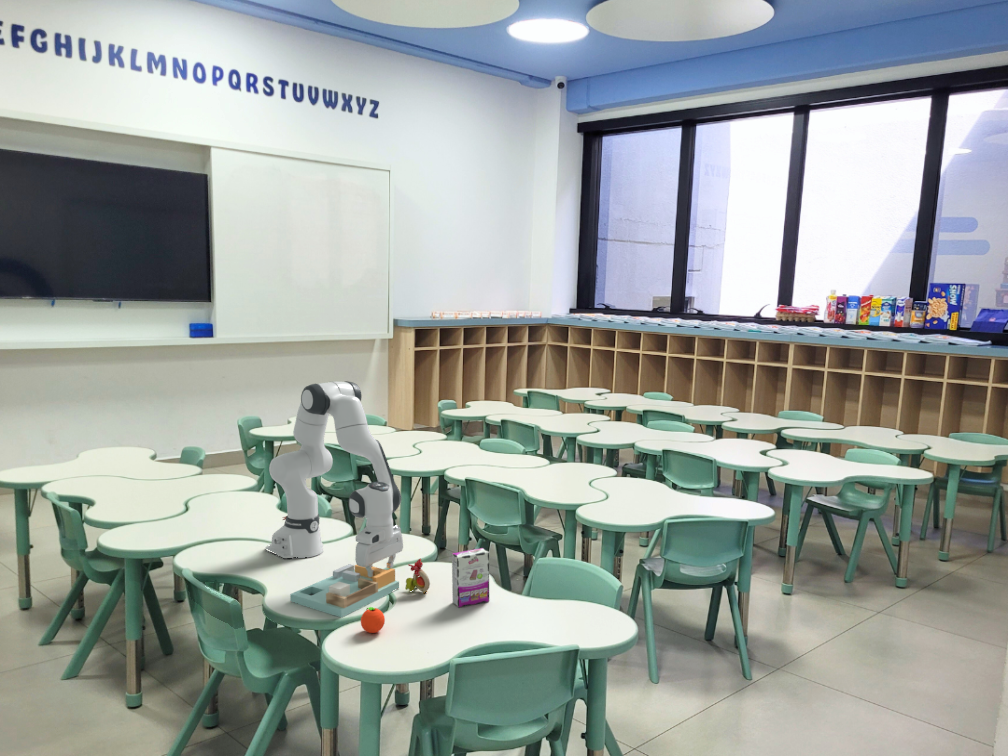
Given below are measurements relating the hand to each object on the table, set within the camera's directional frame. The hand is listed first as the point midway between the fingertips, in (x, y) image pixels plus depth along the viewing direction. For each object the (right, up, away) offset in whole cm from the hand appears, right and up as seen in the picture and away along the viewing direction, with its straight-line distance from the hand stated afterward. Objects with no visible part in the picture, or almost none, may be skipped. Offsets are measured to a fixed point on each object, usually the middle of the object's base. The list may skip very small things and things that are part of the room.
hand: (380, 571), depth 257 cm
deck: (-10, -6, -7) cm, 14 cm away
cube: (-10, -4, -17) cm, 20 cm away
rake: (-4, -3, -1) cm, 5 cm away
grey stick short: (-13, -2, +4) cm, 14 cm away
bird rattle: (+13, -6, -4) cm, 15 cm away
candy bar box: (+30, -7, -12) cm, 33 cm away
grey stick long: (-10, -2, 0) cm, 10 cm away
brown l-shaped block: (-6, -4, -15) cm, 17 cm away
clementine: (+3, -9, -33) cm, 35 cm away
